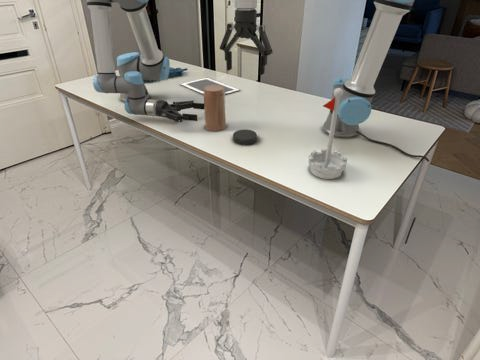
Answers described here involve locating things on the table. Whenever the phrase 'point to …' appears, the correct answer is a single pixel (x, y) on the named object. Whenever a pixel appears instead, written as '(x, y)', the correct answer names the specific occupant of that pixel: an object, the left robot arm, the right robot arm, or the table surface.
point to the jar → (214, 107)
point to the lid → (244, 137)
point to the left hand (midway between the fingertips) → (202, 112)
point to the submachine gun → (173, 72)
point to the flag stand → (329, 148)
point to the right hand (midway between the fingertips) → (245, 71)
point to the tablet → (202, 83)
